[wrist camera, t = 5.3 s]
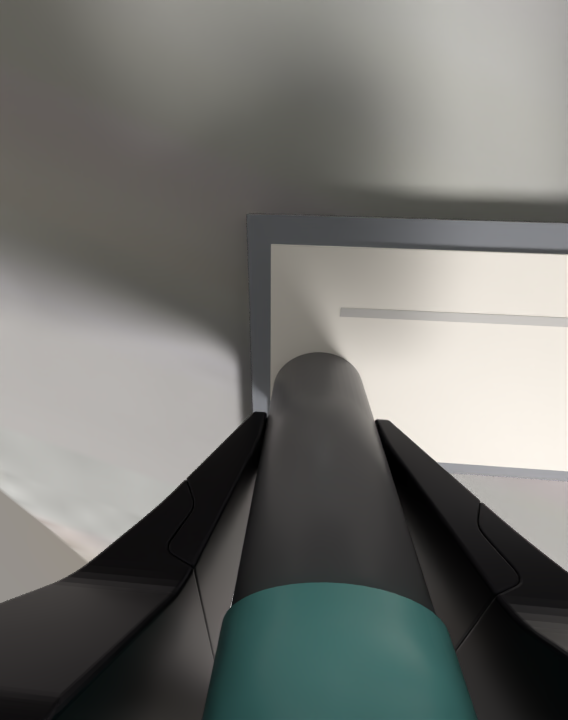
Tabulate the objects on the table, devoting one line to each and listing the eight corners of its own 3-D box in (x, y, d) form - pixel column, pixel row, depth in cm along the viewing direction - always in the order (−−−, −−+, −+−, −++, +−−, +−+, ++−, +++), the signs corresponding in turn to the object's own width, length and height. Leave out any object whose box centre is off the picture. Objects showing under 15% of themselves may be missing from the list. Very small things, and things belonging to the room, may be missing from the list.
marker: (373, 352, 10) (643, 942, 2) (358, 431, 12) (472, 927, 4) (270, 346, 10) (133, 867, 2) (270, 425, 12) (193, 884, 4)
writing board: (728, 227, 9) (788, 230, 8) (568, 464, 13) (591, 487, 12) (252, 213, 9) (244, 214, 8) (257, 443, 14) (253, 462, 13)
